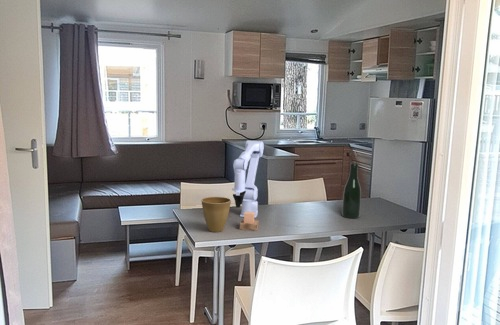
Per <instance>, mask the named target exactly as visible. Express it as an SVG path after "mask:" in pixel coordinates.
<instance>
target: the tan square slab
mask: <svg viewBox="0 0 500 325" xmlns="http://www.w3.org/2000/svg"><path fill="white" fill-rule="evenodd" d="M259 224H260V220H257V219H254V223H253V224H249V223H244V218H243V219H241V220H240V222H239V230H240V229H242V230H241V231H243V230H244V231H253V230H254V231H253V232H255V231H256V232H257V231H258V228H259V226H260V225H259Z"/></svg>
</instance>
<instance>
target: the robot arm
mask: <svg viewBox="0 0 500 325" xmlns="http://www.w3.org/2000/svg"><path fill="white" fill-rule="evenodd" d="M244 147H245V150H244V151H243V152H241V153H240V155H239V156H238V158H236V159H234V160H233V165H232V167H233V173H234V187H233V188H232V189H231V191H234V192H235V193H232V196H233V200H234V204H235V208H238V209H239V208H241V210H240V211H241V212H240V214H239V217H242V218H244V213H245V211H246V212H255V217H254V219H255V218H256V219H257V217H258V214H259V211H258V210H259V209H258V208H259V207H258V206H259V201H257V199H258V194H259V193H258V191H259V189H258V187H257V185H255V182H256V176H257V172H258V166H259V159H260V158H262V157H263V154H264V150H265V149H264V147H265V144H264V141H262V140H261V141H259V140H248V139H247V140H246V141H245V145H244ZM248 165H249V166H248ZM247 168H248V170H247ZM246 170H247V175H246Z"/></svg>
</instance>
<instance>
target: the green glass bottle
mask: <svg viewBox="0 0 500 325" xmlns="http://www.w3.org/2000/svg"><path fill="white" fill-rule="evenodd" d="M349 165H350V168H349V176H348V179H347V181H346V184H345V186H344V189H343V196H342V204H341V205H342V208H341V215H342V216H341V217H343V218H347V219H359V218H360V216H361V202H362V188H361V184H360V181H359V177H358V173H359V172H358V169H359V163H358V161H355V160H353V161H351V162H350V164H349Z"/></svg>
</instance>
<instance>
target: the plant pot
mask: <svg viewBox="0 0 500 325" xmlns="http://www.w3.org/2000/svg"><path fill="white" fill-rule="evenodd" d="M231 202H232V199H231V198H228V197H225V196H210V197H209V196H208V197H205V198H202V199H201V206H202V211H203V215H204V220H205V223H206V226H207V229H208V231H209V232H211V231H212V232H211V233H220V231H221V232H223V231H224V229H225V226H226V225H227V224H226V223H227V221H228V217H229V213H230V208H231Z"/></svg>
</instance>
